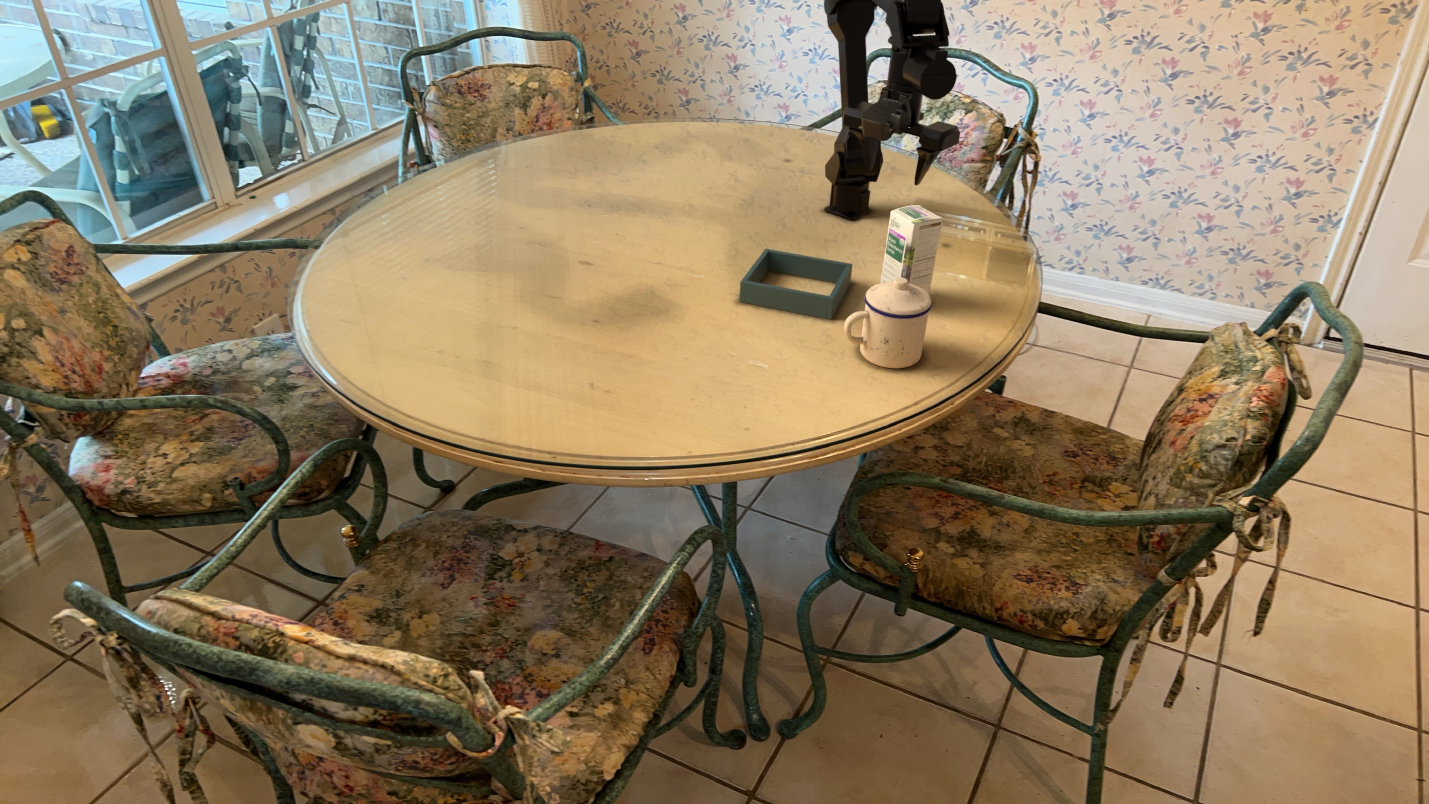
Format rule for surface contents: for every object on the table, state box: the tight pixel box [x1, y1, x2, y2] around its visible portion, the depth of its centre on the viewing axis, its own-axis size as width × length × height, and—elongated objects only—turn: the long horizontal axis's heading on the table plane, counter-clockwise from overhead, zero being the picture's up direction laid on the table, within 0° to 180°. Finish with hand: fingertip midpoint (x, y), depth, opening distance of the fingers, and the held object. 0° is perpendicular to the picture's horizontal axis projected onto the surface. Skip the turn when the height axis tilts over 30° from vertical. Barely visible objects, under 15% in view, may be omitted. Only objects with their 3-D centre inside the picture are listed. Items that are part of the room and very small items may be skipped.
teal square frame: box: [739, 248, 853, 320], centre depth 142 cm, size 13×15×4 cm
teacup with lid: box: [843, 277, 933, 369], centre depth 125 cm, size 12×9×12 cm
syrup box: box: [879, 204, 944, 296], centre depth 137 cm, size 6×6×14 cm
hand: (892, 177), depth 149 cm, fingers open, 9 cm apart
